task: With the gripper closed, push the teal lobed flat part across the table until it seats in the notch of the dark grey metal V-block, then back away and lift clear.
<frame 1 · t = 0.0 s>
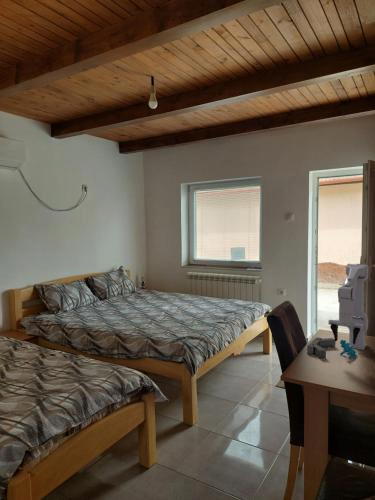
hand: (345, 342, 162), 10 cm above the table, tool pointing down, fingers open, 7 cm apart
v block: (321, 350, 179), on the table
teal lobed flat part: (348, 356, 172), on the table
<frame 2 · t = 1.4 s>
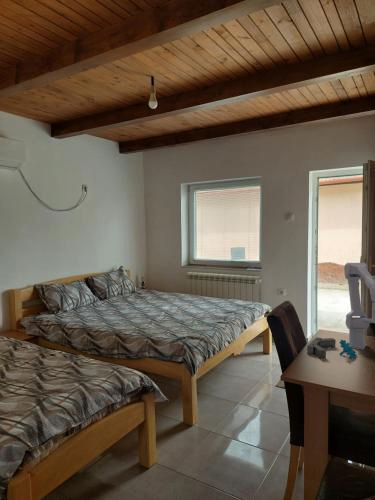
nothing on the table moved.
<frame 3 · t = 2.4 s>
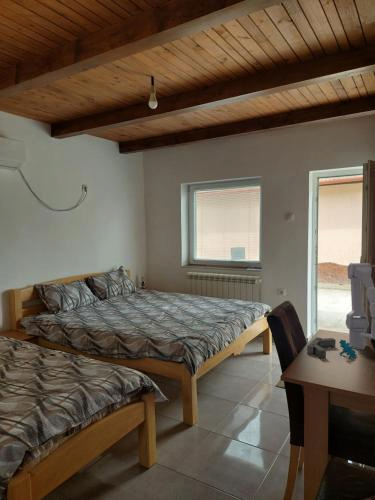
nothing on the table moved.
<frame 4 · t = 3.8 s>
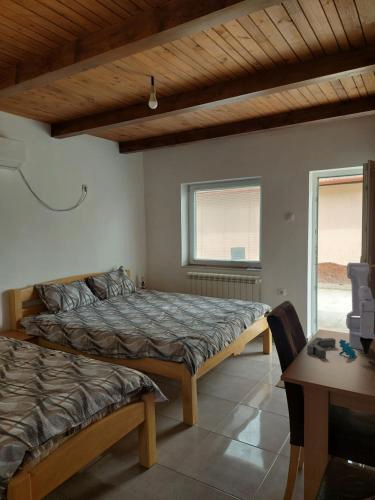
hand: (366, 353, 167), 3 cm above the table, tool pointing down, fingers closed
nothing on the table moved.
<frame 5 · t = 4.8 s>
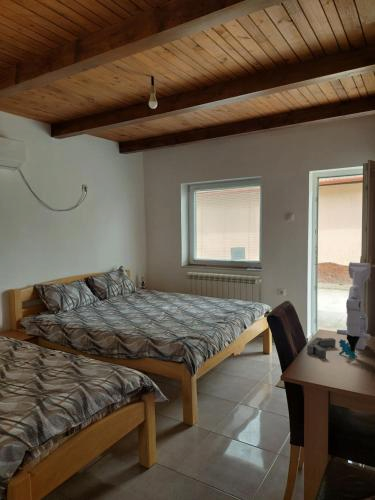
hand: (352, 351, 170), 3 cm above the table, tool pointing down, fingers closed
teal lobed flat part: (347, 356, 172), on the table, touching gripper
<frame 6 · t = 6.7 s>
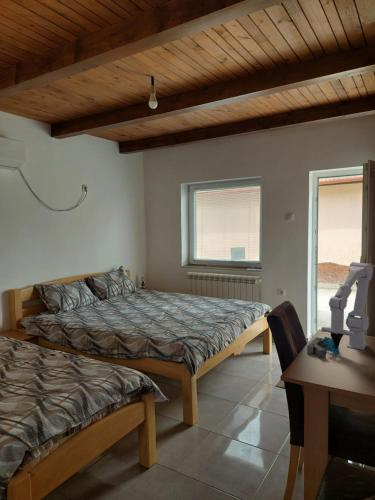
hand: (336, 348, 175), 3 cm above the table, tool pointing down, fingers closed
teal lobed flat part: (331, 353, 176), on the table, touching gripper
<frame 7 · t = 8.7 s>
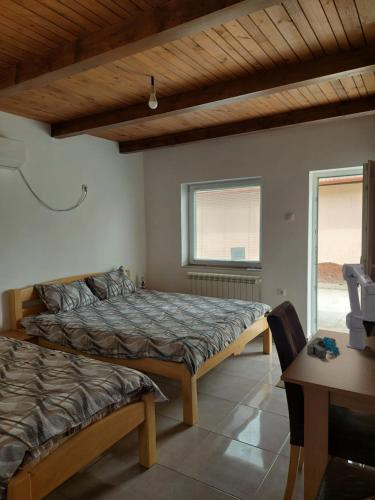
hand: (368, 336, 169), 10 cm above the table, tool pointing down, fingers closed
teal lobed flat part: (331, 353, 176), on the table
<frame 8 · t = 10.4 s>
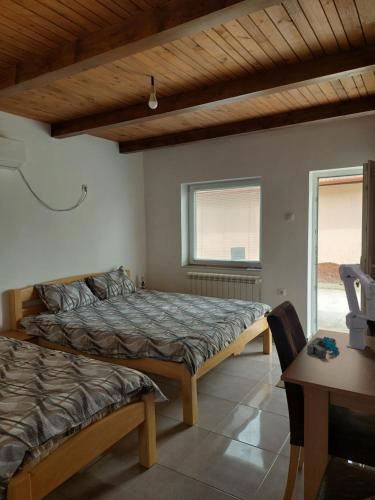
hand: (372, 336, 169), 10 cm above the table, tool pointing down, fingers closed
nothing on the table moved.
at the end: teal lobed flat part 0.5 cm from the target spot on the v block, point 0.0 cm above the v block's base; teal lobed flat part tilted 2°; teal lobed flat part moved 8.2 cm from its start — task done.
